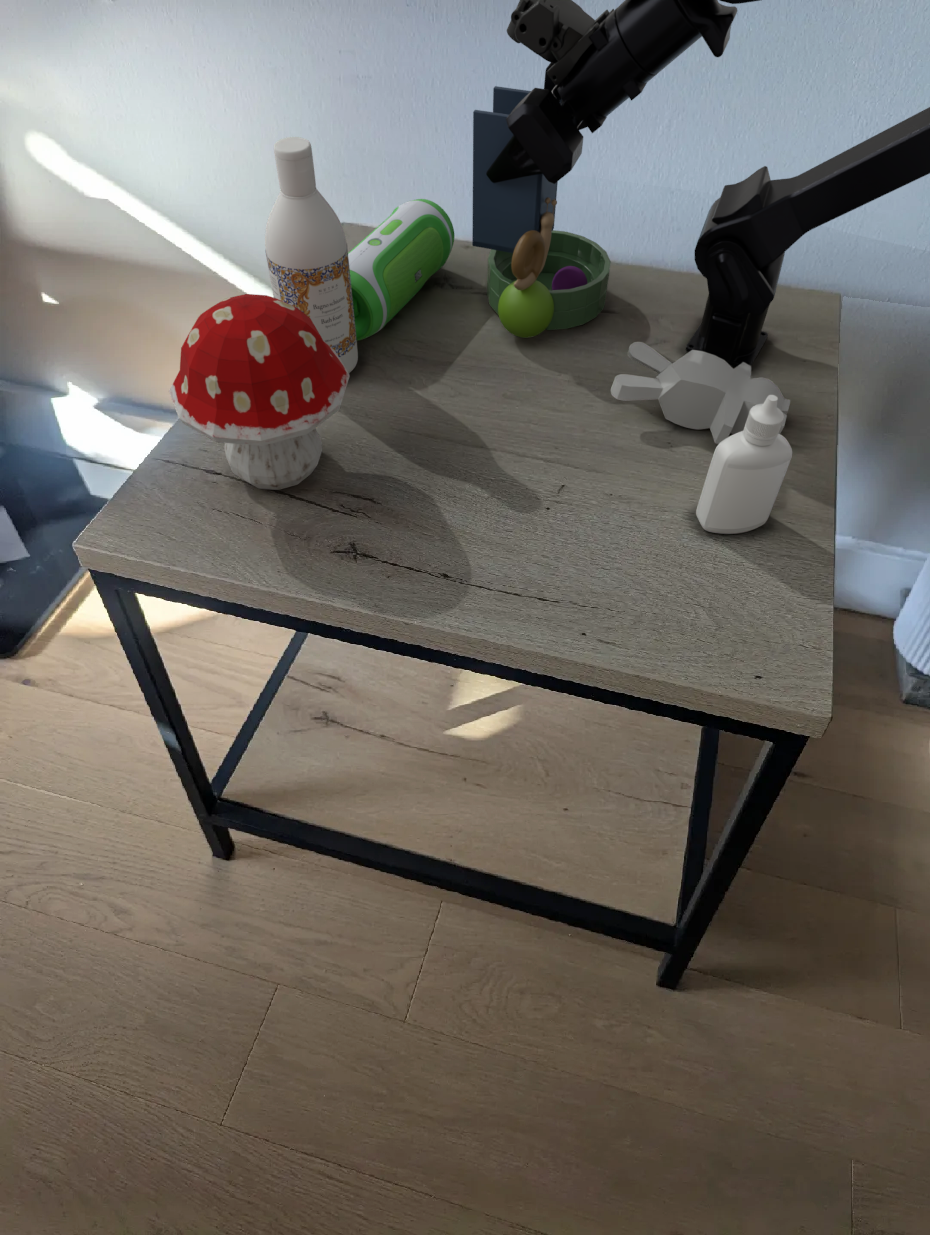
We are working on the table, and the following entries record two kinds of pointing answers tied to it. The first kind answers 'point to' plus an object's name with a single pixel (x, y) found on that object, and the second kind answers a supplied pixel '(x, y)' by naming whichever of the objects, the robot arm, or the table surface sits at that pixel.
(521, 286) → the snail figurine
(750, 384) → the bunny figurine
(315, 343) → the decorative mushroom
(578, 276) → the ball
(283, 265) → the bath foam
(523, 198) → the dark blue rectangular box
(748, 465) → the eye dropper bottle
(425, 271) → the speaker
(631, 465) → the table surface
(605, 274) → the bowl
